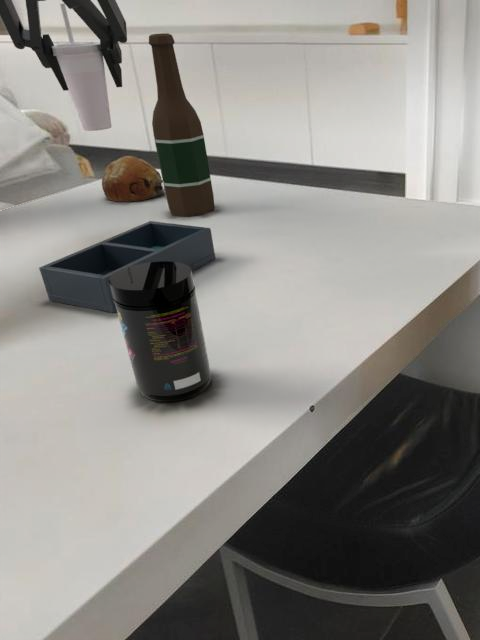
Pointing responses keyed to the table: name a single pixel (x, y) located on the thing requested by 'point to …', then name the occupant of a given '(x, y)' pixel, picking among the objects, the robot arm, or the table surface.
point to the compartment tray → (123, 261)
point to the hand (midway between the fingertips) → (92, 79)
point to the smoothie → (85, 79)
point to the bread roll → (131, 180)
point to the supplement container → (162, 329)
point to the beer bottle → (178, 137)
